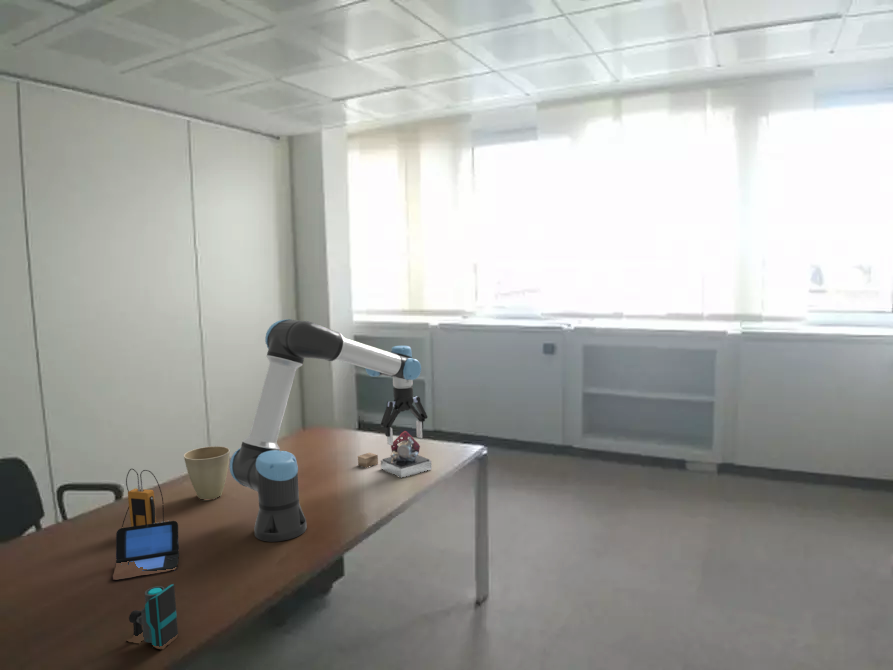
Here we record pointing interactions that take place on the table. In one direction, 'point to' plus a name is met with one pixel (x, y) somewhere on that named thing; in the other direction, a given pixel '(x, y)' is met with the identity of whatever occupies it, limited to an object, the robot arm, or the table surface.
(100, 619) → the table surface
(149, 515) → the multimeter
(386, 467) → the stand
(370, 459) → the brown rectangular block
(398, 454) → the brake caliper
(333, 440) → the table surface
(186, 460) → the plant pot
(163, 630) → the surveillance camera
